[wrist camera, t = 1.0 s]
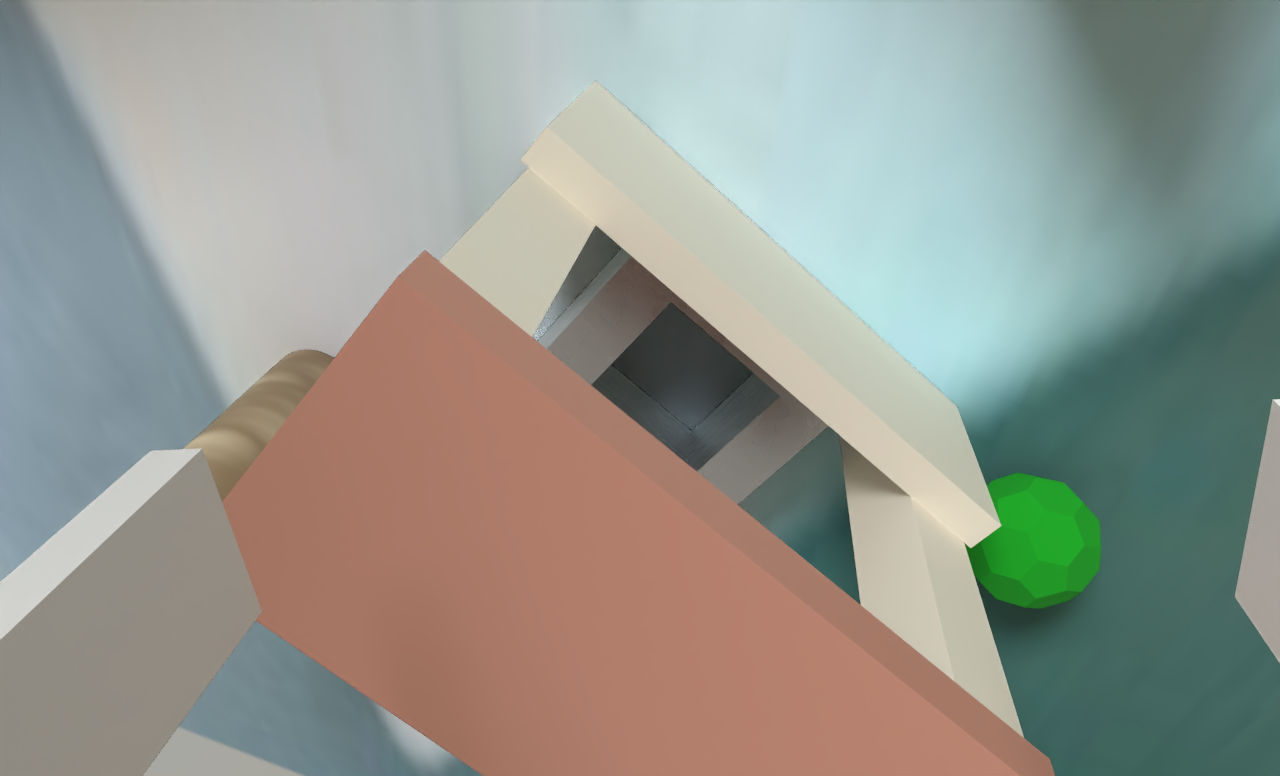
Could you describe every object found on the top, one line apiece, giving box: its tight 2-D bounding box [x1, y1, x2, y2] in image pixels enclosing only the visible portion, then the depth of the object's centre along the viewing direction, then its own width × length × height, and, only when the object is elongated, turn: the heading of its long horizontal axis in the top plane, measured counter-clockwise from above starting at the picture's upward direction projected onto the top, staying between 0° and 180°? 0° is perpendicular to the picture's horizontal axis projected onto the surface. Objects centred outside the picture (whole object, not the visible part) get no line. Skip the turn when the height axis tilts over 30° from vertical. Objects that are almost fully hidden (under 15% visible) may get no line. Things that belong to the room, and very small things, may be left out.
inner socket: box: [537, 248, 828, 505], centre depth 35 cm, size 9×9×4 cm
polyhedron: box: [964, 473, 1101, 609], centre depth 36 cm, size 5×5×5 cm
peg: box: [183, 350, 334, 502], centre depth 33 cm, size 4×4×14 cm
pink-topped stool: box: [222, 80, 1055, 776], centre depth 28 cm, size 18×10×18 cm, turn 49°
